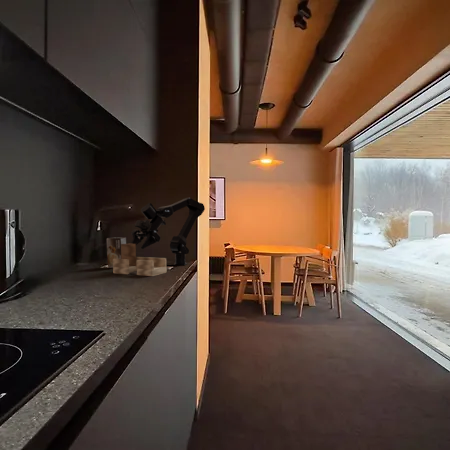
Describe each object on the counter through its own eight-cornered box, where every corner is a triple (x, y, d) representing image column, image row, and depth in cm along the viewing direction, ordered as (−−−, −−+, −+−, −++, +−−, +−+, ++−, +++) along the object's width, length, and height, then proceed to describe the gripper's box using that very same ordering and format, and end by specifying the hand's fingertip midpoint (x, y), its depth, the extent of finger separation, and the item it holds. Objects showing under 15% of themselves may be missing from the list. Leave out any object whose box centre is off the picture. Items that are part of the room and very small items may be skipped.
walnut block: (130, 265, 200) (129, 243, 200) (135, 265, 197) (135, 243, 196) (121, 266, 196) (121, 244, 196) (127, 267, 193) (126, 244, 193)
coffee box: (128, 266, 217) (127, 237, 216) (121, 268, 211) (121, 238, 210) (113, 266, 220) (112, 237, 219) (106, 267, 213) (106, 238, 213)
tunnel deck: (113, 273, 194) (112, 258, 194) (128, 269, 204) (128, 256, 204) (152, 276, 183) (152, 261, 183) (166, 272, 194) (166, 258, 193)
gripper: (133, 214, 210) (115, 236, 202) (155, 214, 197) (137, 238, 189) (146, 229, 216) (129, 250, 208) (168, 229, 203) (151, 253, 195)
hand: (136, 247), depth 200 cm, fingers open, 9 cm apart
